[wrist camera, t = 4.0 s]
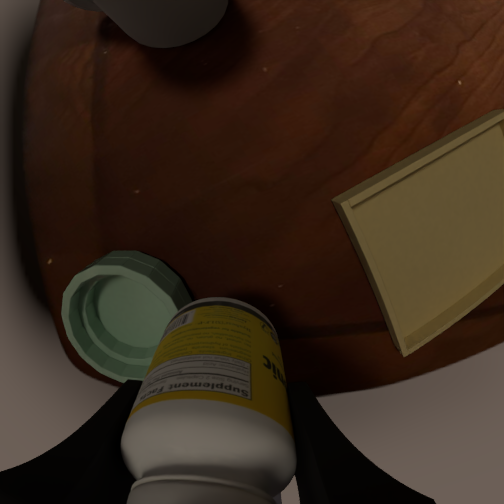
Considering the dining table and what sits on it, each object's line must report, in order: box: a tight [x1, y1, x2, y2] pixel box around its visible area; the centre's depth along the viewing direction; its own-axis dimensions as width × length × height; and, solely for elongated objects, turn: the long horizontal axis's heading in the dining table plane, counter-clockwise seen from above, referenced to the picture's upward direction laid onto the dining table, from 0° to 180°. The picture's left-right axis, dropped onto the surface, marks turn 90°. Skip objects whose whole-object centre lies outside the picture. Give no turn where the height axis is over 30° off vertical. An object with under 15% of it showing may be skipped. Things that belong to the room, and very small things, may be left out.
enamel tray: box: [332, 109, 504, 357], centre depth 18 cm, size 17×13×2 cm
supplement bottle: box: [121, 297, 297, 504], centre depth 9 cm, size 5×5×10 cm
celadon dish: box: [61, 251, 192, 383], centre depth 19 cm, size 9×9×4 cm
